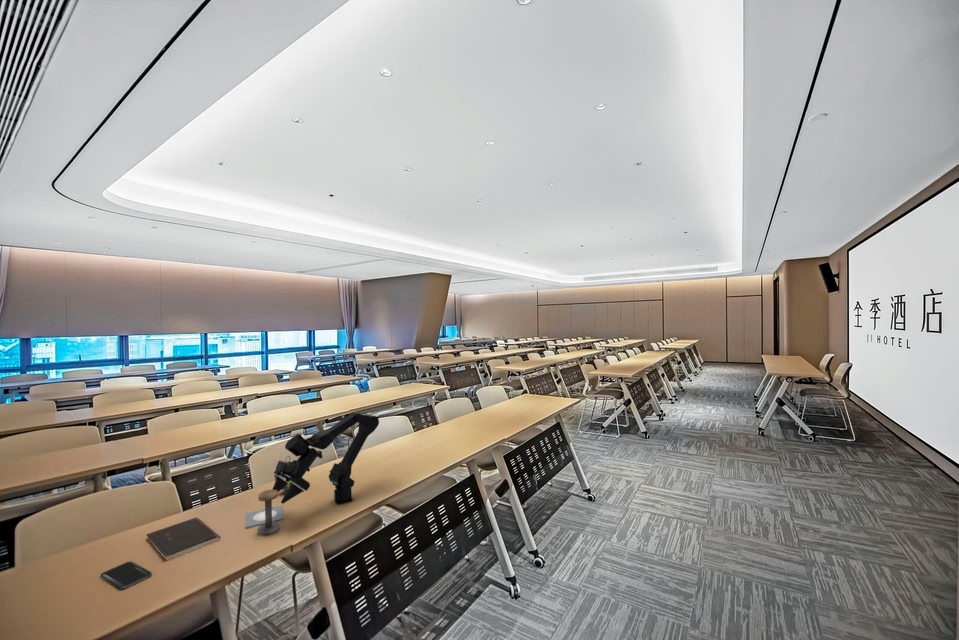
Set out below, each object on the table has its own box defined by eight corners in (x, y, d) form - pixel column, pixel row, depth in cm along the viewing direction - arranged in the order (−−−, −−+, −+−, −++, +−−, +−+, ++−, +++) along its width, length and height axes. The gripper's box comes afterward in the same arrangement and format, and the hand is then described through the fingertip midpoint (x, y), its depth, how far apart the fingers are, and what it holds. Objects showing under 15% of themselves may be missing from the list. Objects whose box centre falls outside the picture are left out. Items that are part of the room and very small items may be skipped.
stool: (279, 524, 152) (278, 487, 152) (280, 532, 146) (279, 494, 146) (257, 529, 149) (257, 492, 149) (257, 538, 143) (257, 499, 143)
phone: (121, 588, 115) (99, 574, 122) (121, 592, 115) (99, 577, 122) (153, 573, 122) (130, 560, 129) (153, 576, 122) (130, 563, 129)
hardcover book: (164, 563, 129) (164, 556, 129) (146, 540, 144) (146, 534, 144) (220, 541, 142) (220, 535, 142) (198, 522, 156) (198, 516, 156)
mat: (282, 506, 167) (282, 505, 167) (284, 519, 156) (284, 517, 156) (246, 514, 161) (246, 512, 161) (245, 528, 149) (245, 526, 149)
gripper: (278, 447, 160) (249, 483, 151) (301, 456, 148) (271, 496, 140) (298, 461, 166) (271, 497, 157) (321, 471, 154) (293, 510, 146)
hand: (276, 499), depth 150 cm, fingers open, 9 cm apart
